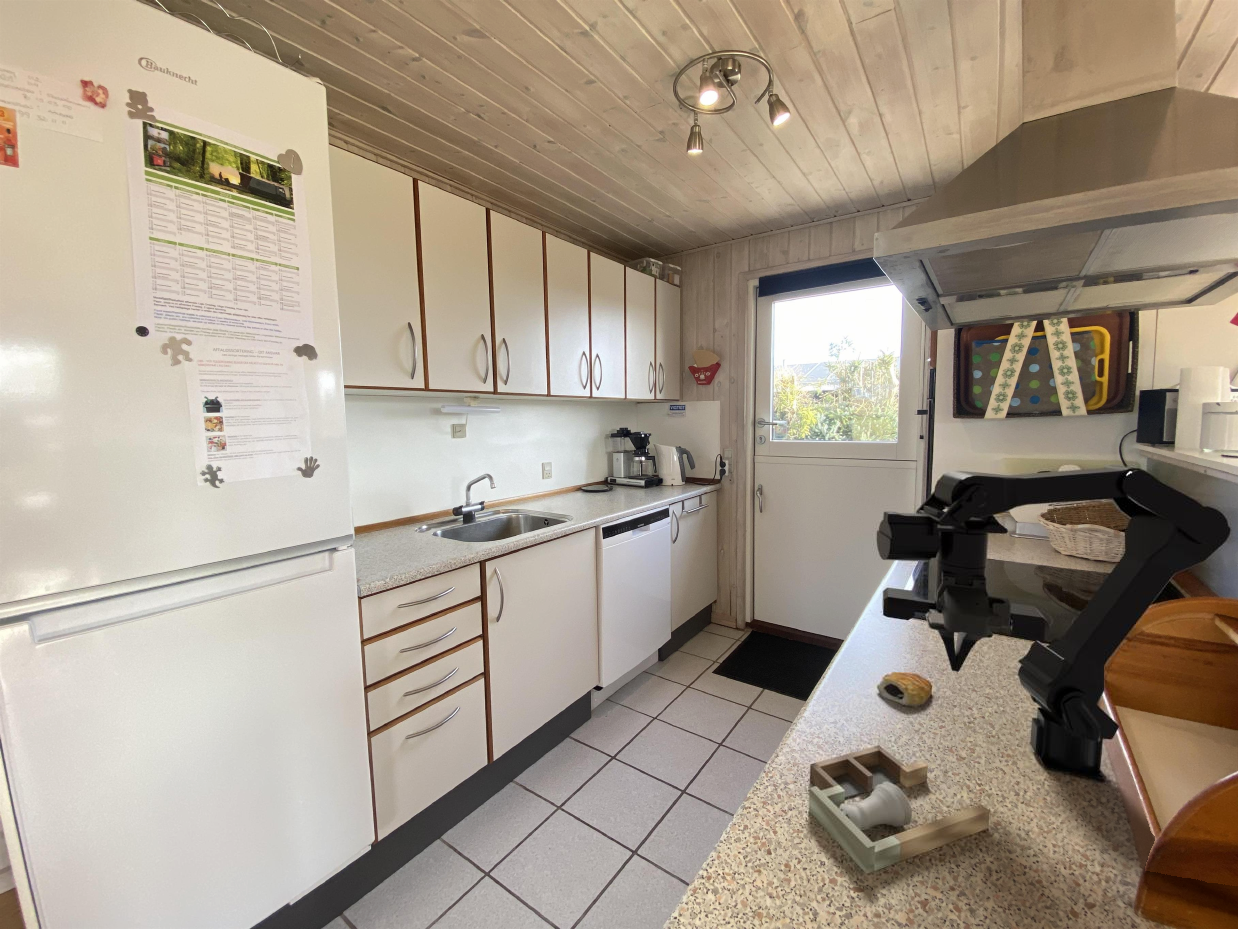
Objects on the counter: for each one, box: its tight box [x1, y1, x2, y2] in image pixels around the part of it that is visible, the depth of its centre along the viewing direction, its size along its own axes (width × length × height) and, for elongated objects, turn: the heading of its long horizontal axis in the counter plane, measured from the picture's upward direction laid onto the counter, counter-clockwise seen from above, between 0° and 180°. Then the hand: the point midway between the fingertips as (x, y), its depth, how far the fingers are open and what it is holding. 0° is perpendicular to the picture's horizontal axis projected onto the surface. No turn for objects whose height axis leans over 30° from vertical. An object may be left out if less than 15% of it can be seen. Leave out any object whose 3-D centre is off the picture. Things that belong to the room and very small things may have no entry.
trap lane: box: [808, 744, 990, 875], centre depth 62 cm, size 18×13×3 cm
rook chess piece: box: [839, 781, 913, 831], centre depth 59 cm, size 4×4×8 cm
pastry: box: [876, 671, 933, 708], centre depth 87 cm, size 9×7×4 cm
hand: (954, 670), depth 71 cm, fingers closed
